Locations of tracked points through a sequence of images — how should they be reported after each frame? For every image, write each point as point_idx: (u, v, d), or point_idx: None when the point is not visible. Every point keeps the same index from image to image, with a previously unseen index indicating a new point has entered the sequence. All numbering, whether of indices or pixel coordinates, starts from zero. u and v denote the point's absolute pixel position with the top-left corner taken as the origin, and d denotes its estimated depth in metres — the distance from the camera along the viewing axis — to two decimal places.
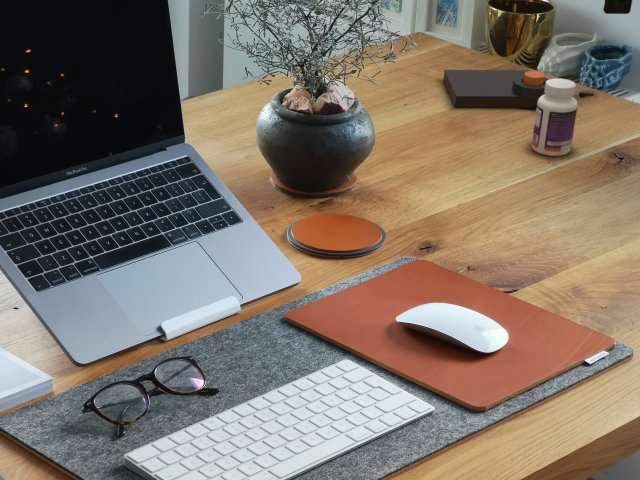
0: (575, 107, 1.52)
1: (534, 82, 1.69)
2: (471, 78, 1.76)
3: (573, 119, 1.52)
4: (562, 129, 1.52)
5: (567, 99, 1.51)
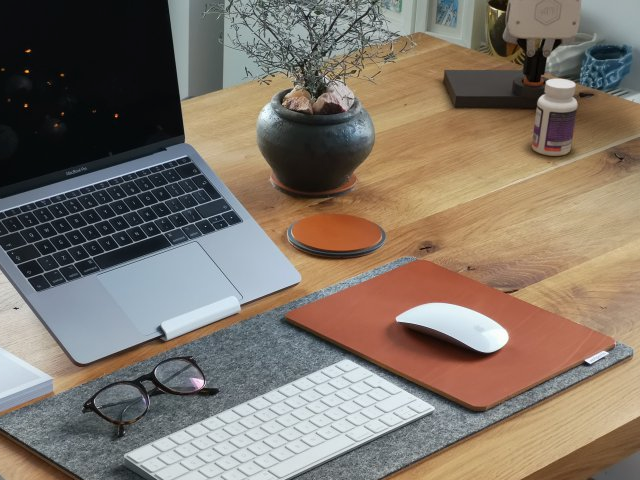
0: (575, 107, 1.52)
1: None
2: (471, 78, 1.76)
3: (573, 119, 1.52)
4: (562, 129, 1.52)
5: (567, 99, 1.51)
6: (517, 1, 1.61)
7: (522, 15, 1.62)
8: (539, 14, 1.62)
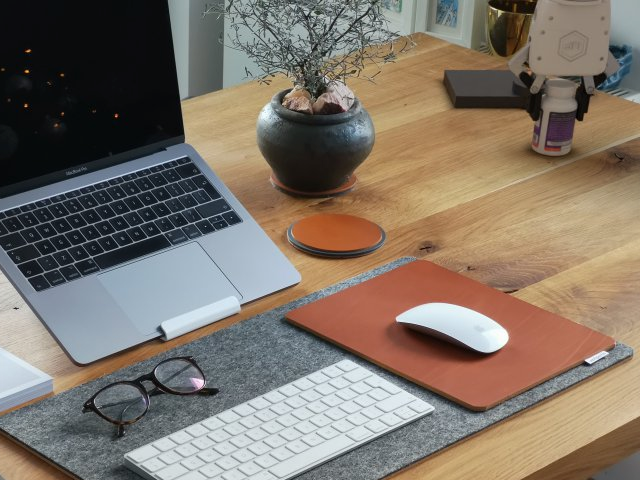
0: (575, 107, 1.52)
1: None
2: (471, 78, 1.76)
3: (573, 119, 1.52)
4: (562, 129, 1.52)
5: (567, 99, 1.51)
6: (539, 35, 1.46)
7: (544, 50, 1.46)
8: (563, 49, 1.46)
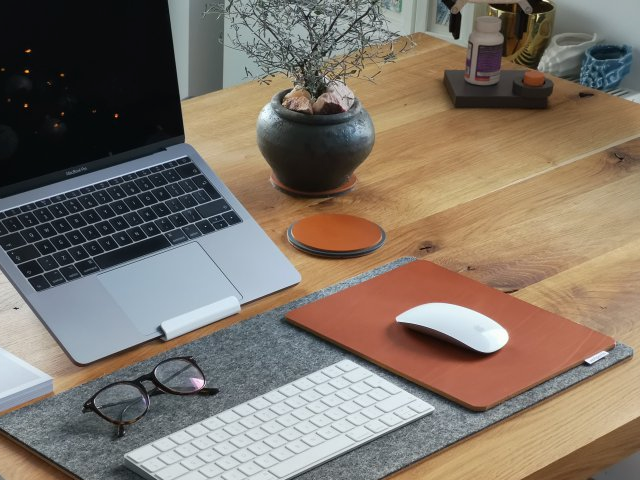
0: (501, 41, 1.70)
1: (534, 82, 1.69)
2: None
3: (500, 52, 1.71)
4: (490, 61, 1.71)
5: (494, 33, 1.70)
6: None
7: None
8: None
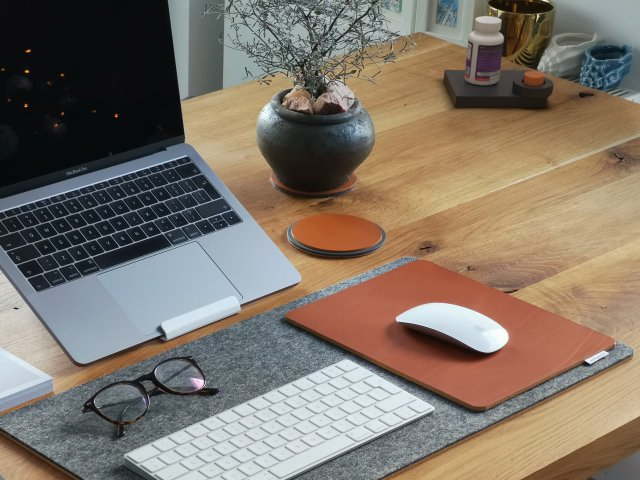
0: (501, 41, 1.70)
1: (534, 82, 1.69)
2: None
3: (500, 52, 1.71)
4: (490, 61, 1.71)
5: (494, 33, 1.70)
6: None
7: None
8: None
